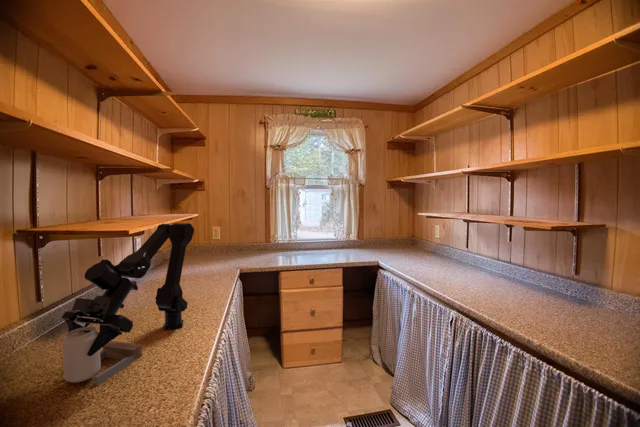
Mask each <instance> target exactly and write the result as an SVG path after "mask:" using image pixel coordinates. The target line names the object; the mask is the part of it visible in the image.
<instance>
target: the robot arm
mask: <svg viewBox="0 0 640 427" xmlns="http://www.w3.org/2000/svg"><path fill="white" fill-rule="evenodd" d="M194 233H195V228H194V227H193V225H192V224H191V223H189V222H188V223H185V222H184V223H181V222H174V223H161V224H158V226H157V228H156V229H155V231H153V233H152V234H151V235H150V236H149V237H148V238H147V239H146V241H145V242H144V243H143V244H142V245H141V246H140V247H139V248H138V250H136V251H134V252H133V253H131V254H128V255H127V256H126V257H124V258H123V259H122V260H121V261H119V263H117V264H116V265H114V264H113V263H112V262H111V261H110V260H109V259H106V258H105V259H101V260H100V261H99V262H97V263H95V264H93V265H92V266H90V267H89V268H88V269H87V270H86V271H85V273H84V279H85V280H86V281H88V282H89V283H91V284H92V285H94V286H95V287H97V288H98V289H99V290H101V291H102V290H103V291H104V290H105V291H104V292H103V293H102V294H101V295H96V296H95V297H94V299H92V298H83V297H82V298H80V297H76V298H75V299H74V303H73V305H72V308H71V309H69V310H67V311H65V312H64V313H63V315H62V316H61V317H60V319H61V320H63V321H64V323H65V324H66V325H67V329H68V332H67V333H69V332H70V331H72V330H75V329H78V328H83V327H89V326H90V325H99V331H98V332H99V334H98V336H97V337H96V339H95V341H94V343H93V344H92V346H91V348H90V350H89V352H88V354H87V355H88V356H92V355H93V354H94V353H96V352H97V351H98V350H100V351H101V349H103V346H105V345H106V344H107V343H109V342H111V341H113V340H115V339H116V338H117V337H119V336H122V335H123V334H124V333H128V334H129V333H130V332H131V331H132V329H133V327H134V321H132V320H131V319H129V318H127V316H124V315H123V314H117V313H118V311H119V309H124V307H126V306H125V304H123V303H124V301H125V300H126V298H127V297H128V295H129V294H130V293H131V291H138V290H139V287H138V284H137V281H135V280H131V279H141V278H144V277H145V276H146V274H147V272H148V270H149V269H150V268H151V265H152V259H153V258H154V256H155V255H156V254H157V253H158V252H159V251H160V249H161V248H162V247H163V245H164V244H165V243H166V242H167V241H168V239H169V241H170V243H171V249H170V254H169V259H168V264H167V270H166V275H165V282H164V284H162V286H161V287H158V288H157V289H156V295H155V298H154V300H155V304H156V306H157V308H158V312H159V311H160V312H164V324H163V328H162V331H168V330H174V329H180V328H181V329H182V328H183V327H184V320H183V319H182V317H183V316H182V312H185V311H186V309H188V304H189V303H188V301H187V300H186V299H184V298H183V289H182V287H181V285H180V284H181V279H182V278H181V277H182V273H183V272H182V270H183V266H184V260H185V254H186V250H187V246H188V245H189V244H190V243H191V242H192V240H193V238H194V237H193V236H194Z"/></svg>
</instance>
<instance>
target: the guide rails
mask: <svg viewBox="0 0 640 427" xmlns="http://www.w3.org/2000/svg"><path fill="white" fill-rule="evenodd" d="M105 358H106V351H103V350H102V351H100V359H101V361H102V360H104V359H105ZM134 362H135V361H134V356H133V355H129V356H128V357H126V358H124V359H123V360H120V361H118V362H117V363H115V364H113V365H111V366H110V367H108V368H107V369H105V370H103V371H102V372H100V373H98V374H97V375H94V376H93V377H94V378H93V379H94V385H95V386H99V385H100V384H101V383H103V382H104V381H106V380H108V379H109V378H111V377H113V376H114V375H116V374H118V373H119V372H120V371H122V370H123V369H124V368H126V367H128V366H129V365H131V364H132V363H134Z"/></svg>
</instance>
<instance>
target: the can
mask: <svg viewBox="0 0 640 427" xmlns="http://www.w3.org/2000/svg"><path fill="white" fill-rule="evenodd" d="M98 334H99V331H98V330H97V328H96V327H94V326H87V327H83V328H78V329H75V330H72V331H70V332H69V333H68V332H67V333H66V334H65V336H64V337H65V338H64V339H63V340H62V342H61V343H62V363H63V364H62V366H63V380H64V381H66V382H69V383H80V382H84V381H88V379H90V378H92V377H95V376H96V374H97V373H98V372H99V371H100V370H101V369H102V364H101V363H102V362H101V361H102V360H101V359H100V352H101V349H100V350H98V351H97V352H96V353H94V354H93V355H92V356H88V355H87V354H88V352H89V350H90V348H91V346H92V344H93V343H94V341H95V339H96V337H97V336H98Z"/></svg>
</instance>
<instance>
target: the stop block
mask: <svg viewBox="0 0 640 427" xmlns="http://www.w3.org/2000/svg"><path fill="white" fill-rule="evenodd" d="M142 346H143V345H142V344H138V343H128V342H121V341H113V340H111V341H110V342H109V343H107V344H106V345H105V346H103V347H102V351H106V358H107V359H113V360H120V361H121V360H123V359H124V358H126V357H128V356H129V355H133V356H134V362H135V361H137V360H138V359H140V358H141V357H143V349H142V348H143V347H142Z"/></svg>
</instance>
